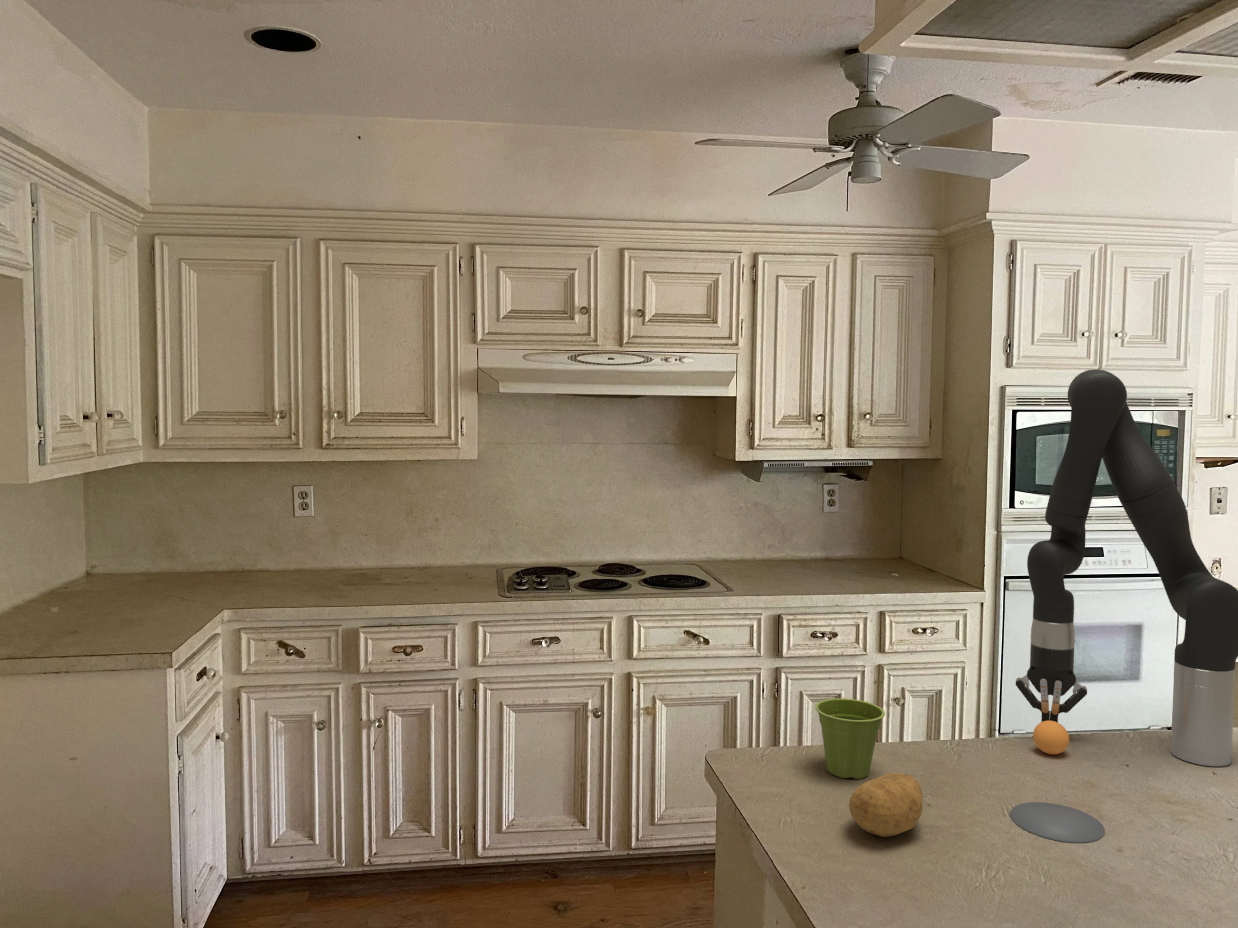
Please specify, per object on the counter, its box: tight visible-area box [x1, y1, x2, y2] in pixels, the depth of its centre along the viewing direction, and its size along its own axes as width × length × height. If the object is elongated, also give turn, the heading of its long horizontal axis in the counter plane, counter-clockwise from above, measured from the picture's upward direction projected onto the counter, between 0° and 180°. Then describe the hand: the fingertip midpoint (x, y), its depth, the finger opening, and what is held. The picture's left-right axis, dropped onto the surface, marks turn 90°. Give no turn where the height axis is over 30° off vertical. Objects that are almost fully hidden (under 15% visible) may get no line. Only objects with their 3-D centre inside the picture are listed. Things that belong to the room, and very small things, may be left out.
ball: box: [1032, 721, 1070, 755], centre depth 162 cm, size 6×6×6 cm
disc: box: [1009, 801, 1105, 844], centre depth 135 cm, size 13×13×1 cm
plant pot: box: [814, 697, 886, 780], centre depth 153 cm, size 12×12×11 cm
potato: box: [848, 772, 924, 838], centre depth 132 cm, size 10×14×8 cm
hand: (1049, 730), depth 169 cm, fingers closed
